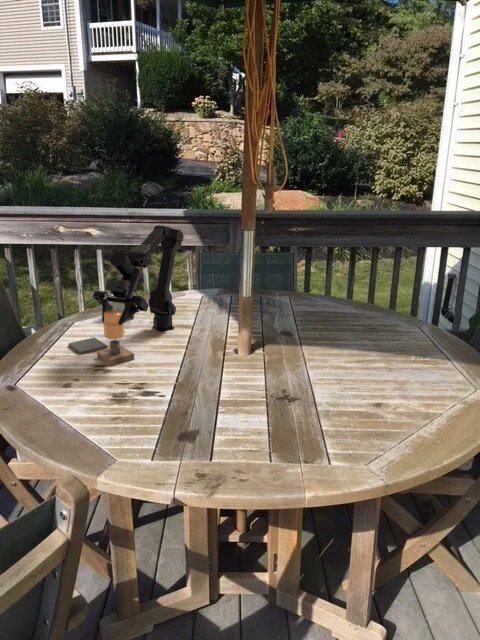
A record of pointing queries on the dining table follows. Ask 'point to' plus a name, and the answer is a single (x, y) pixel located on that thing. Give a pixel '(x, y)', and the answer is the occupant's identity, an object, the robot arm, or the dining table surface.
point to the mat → (87, 345)
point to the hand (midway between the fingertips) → (111, 323)
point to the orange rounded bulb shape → (113, 324)
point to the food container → (119, 306)
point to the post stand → (115, 354)
